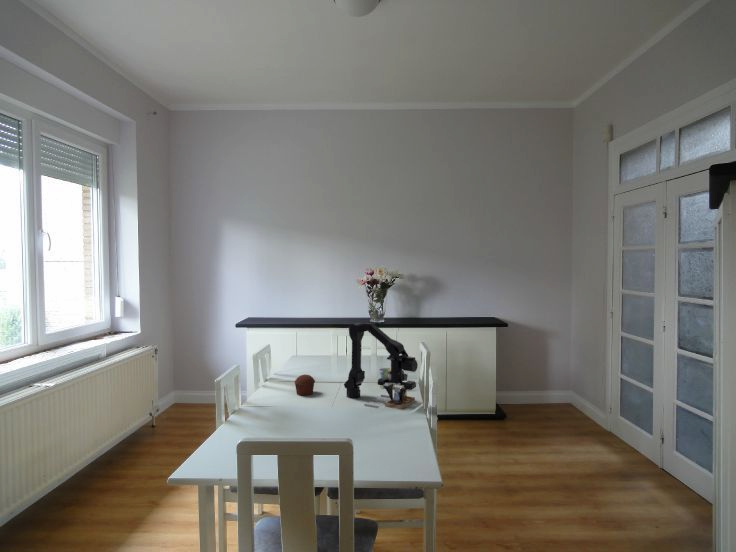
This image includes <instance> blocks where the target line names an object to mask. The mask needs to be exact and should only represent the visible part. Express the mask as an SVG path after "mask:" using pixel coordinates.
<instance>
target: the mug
mask: <svg viewBox="0 0 736 552" xmlns="http://www.w3.org/2000/svg"><path fill="white" fill-rule="evenodd" d="M390 371H391V367H382V368H379V374H380V378H382V377H387V378H389V379H390V380H391V374H390ZM383 386H384V385H383ZM383 386H382V385H379V388H380V389H383V390H386V389H385V387H383ZM395 387H396V385H393V389H395Z"/></svg>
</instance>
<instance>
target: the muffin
mask: <svg viewBox="0 0 736 552" xmlns="http://www.w3.org/2000/svg"><path fill="white" fill-rule="evenodd" d="M315 383H316V380H315V378H314V377H313V376H311V375H310V374H302V375H301V374H300V375H299V376H297V377H296V378H295V380H294V385H295V391H296V395H298V396H301V397H306V396H311V395H313V393H314V387H315V386H314V385H315Z"/></svg>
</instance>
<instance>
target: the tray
mask: <svg viewBox="0 0 736 552" xmlns="http://www.w3.org/2000/svg"><path fill="white" fill-rule="evenodd" d="M393 401H394V397H393V399H392V400H389V401H388V402H386V403H384V408H391V409H396V410H403V409H404V408H406V407H407V406H409V405H411V404H413V402H415V401H416V397H414V396H408V395H407V401H404V400H403V401H401V404H400V405H396V404H393Z"/></svg>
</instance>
